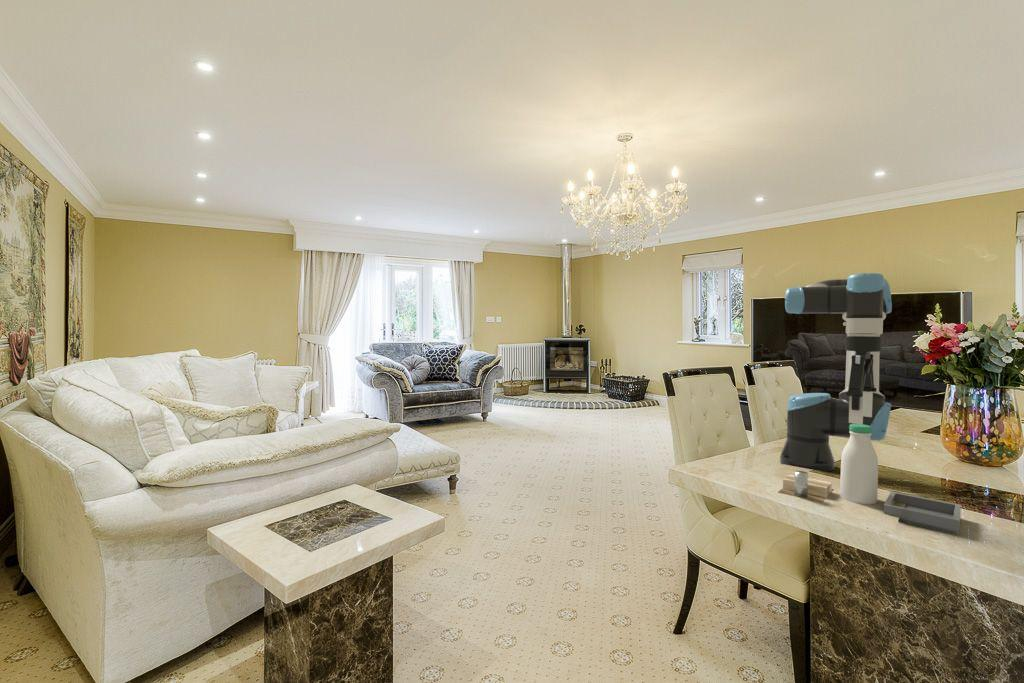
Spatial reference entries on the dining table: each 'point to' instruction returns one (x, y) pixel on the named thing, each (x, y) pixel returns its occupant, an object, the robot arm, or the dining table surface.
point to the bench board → (810, 497)
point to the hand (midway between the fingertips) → (860, 419)
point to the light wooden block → (810, 486)
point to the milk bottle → (859, 467)
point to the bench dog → (801, 484)
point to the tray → (925, 512)
